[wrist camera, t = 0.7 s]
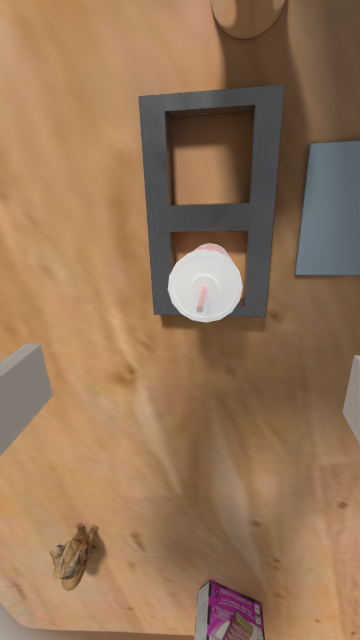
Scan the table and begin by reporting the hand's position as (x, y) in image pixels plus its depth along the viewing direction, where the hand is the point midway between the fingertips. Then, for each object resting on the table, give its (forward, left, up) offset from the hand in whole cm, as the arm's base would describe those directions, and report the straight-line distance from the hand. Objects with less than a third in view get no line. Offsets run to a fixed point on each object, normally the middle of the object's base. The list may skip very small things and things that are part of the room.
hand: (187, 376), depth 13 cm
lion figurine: (+49, -23, -22) cm, 59 cm away
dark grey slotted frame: (-5, 0, -22) cm, 23 cm away
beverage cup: (0, 0, -22) cm, 22 cm away
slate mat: (-5, +15, -22) cm, 27 cm away
